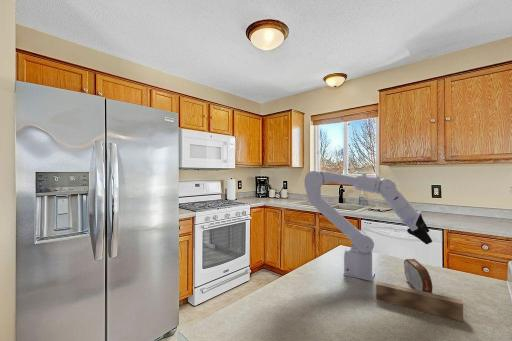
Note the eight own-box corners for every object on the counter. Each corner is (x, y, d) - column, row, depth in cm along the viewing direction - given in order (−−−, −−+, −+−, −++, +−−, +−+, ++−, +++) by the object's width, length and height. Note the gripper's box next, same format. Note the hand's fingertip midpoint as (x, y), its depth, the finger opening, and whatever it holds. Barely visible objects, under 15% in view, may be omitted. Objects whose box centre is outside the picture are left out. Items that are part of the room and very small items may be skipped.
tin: (433, 300, 73) (433, 272, 73) (421, 299, 73) (421, 271, 73) (412, 279, 87) (412, 255, 87) (402, 278, 88) (402, 254, 88)
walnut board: (376, 299, 73) (376, 284, 73) (377, 295, 75) (377, 281, 75) (463, 321, 62) (463, 304, 62) (461, 317, 64) (461, 299, 64)
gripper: (413, 208, 80) (443, 242, 78) (410, 194, 92) (436, 223, 91) (393, 219, 84) (421, 251, 82) (393, 203, 96) (417, 231, 94)
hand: (427, 237), depth 87 cm, fingers open, 7 cm apart
